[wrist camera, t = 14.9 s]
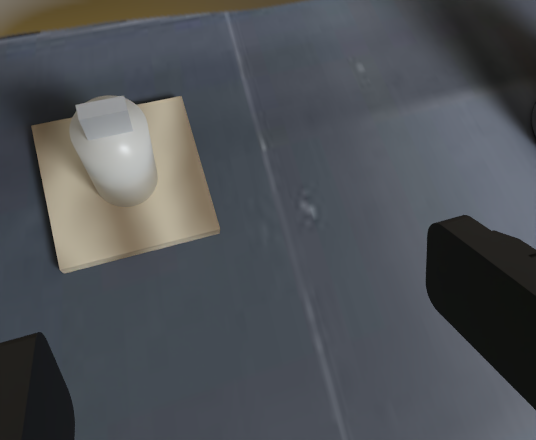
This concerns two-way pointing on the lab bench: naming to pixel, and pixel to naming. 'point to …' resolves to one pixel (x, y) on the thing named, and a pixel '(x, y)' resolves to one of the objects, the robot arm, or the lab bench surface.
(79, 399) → the lab bench surface
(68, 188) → the board
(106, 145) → the white bottle
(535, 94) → the lab bench surface
